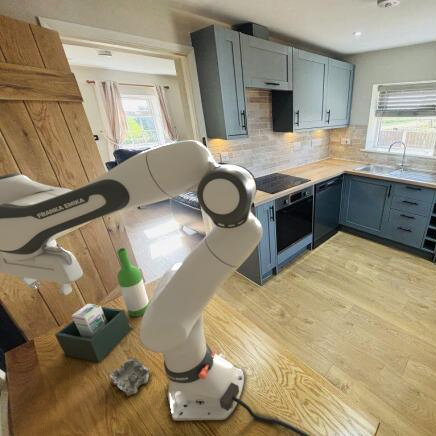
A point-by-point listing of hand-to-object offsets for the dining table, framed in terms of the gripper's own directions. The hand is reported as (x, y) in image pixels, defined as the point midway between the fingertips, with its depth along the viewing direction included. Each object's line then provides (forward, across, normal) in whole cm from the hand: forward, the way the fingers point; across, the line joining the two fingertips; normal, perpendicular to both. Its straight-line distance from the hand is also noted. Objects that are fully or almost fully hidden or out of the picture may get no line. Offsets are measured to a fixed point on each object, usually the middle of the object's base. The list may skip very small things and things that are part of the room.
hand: (51, 290), depth 61 cm
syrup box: (+34, +10, -12) cm, 38 cm away
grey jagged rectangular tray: (+35, -12, -2) cm, 37 cm away
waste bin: (+35, +10, -12) cm, 38 cm away
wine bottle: (+35, +7, -28) cm, 45 cm away
